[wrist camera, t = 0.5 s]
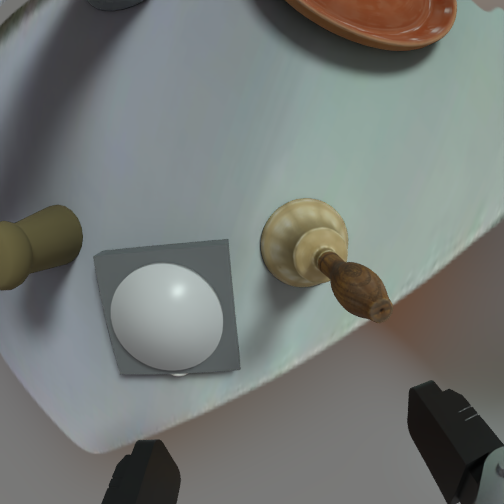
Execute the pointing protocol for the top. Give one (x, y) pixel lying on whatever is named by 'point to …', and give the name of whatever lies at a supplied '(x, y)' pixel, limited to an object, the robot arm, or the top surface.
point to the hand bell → (321, 257)
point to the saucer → (382, 20)
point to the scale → (170, 307)
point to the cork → (38, 244)
